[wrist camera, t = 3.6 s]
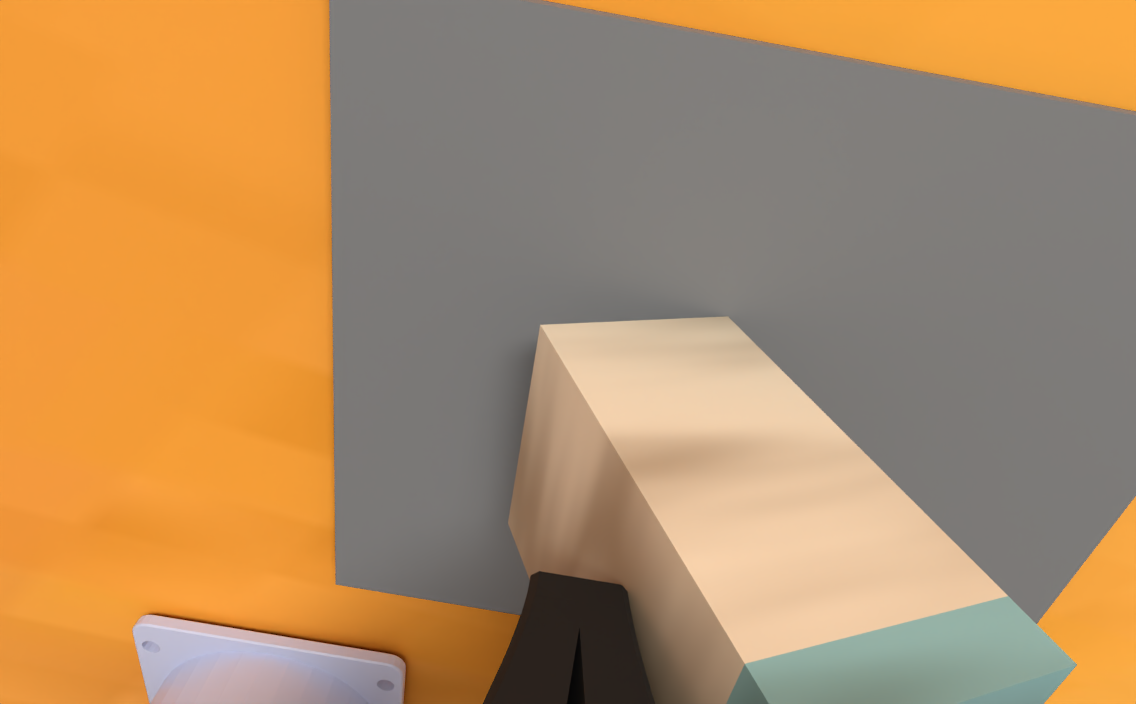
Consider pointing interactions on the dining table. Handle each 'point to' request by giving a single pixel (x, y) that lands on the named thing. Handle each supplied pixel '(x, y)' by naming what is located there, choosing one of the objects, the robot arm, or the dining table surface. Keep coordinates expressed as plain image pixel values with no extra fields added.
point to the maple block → (752, 531)
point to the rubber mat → (718, 271)
